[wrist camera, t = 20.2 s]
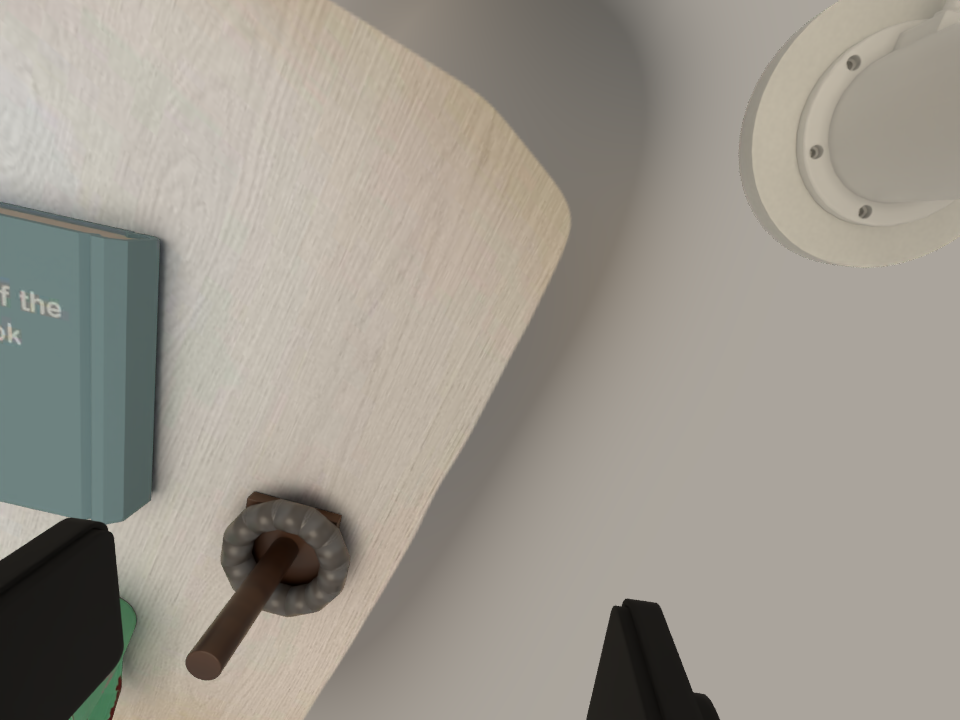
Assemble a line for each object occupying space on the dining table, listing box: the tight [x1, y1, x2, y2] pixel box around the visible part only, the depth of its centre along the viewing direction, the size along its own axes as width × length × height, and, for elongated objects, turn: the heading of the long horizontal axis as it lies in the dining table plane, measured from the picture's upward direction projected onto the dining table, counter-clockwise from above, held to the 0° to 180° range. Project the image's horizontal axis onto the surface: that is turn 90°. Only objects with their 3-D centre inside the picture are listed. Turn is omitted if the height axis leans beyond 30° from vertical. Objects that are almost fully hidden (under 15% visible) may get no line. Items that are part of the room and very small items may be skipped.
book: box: [0, 202, 160, 524], centre depth 39 cm, size 23×16×5 cm
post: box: [186, 492, 342, 680], centre depth 38 cm, size 8×8×13 cm
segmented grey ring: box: [221, 499, 350, 617], centre depth 42 cm, size 11×11×2 cm
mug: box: [69, 598, 137, 720], centre depth 44 cm, size 15×10×10 cm
